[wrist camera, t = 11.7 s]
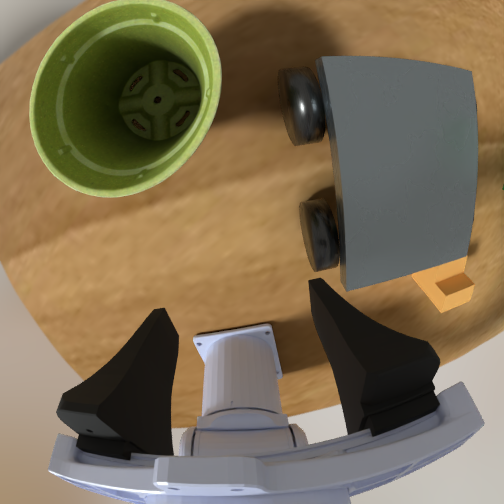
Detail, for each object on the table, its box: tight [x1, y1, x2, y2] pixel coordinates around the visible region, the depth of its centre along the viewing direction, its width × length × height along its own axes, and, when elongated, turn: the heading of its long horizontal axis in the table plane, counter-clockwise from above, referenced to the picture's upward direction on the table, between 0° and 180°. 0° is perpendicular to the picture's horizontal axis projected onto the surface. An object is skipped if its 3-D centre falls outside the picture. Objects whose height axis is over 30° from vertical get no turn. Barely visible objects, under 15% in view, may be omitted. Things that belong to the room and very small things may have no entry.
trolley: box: [278, 56, 478, 291], centre depth 16 cm, size 14×14×6 cm
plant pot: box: [29, 0, 222, 197], centre depth 12 cm, size 9×9×9 cm
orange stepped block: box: [412, 255, 475, 313], centre depth 21 cm, size 6×4×6 cm, turn 11°
